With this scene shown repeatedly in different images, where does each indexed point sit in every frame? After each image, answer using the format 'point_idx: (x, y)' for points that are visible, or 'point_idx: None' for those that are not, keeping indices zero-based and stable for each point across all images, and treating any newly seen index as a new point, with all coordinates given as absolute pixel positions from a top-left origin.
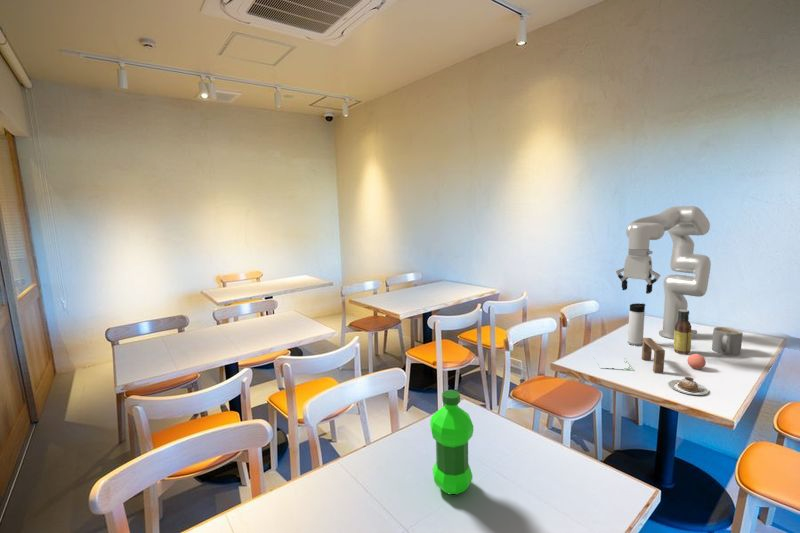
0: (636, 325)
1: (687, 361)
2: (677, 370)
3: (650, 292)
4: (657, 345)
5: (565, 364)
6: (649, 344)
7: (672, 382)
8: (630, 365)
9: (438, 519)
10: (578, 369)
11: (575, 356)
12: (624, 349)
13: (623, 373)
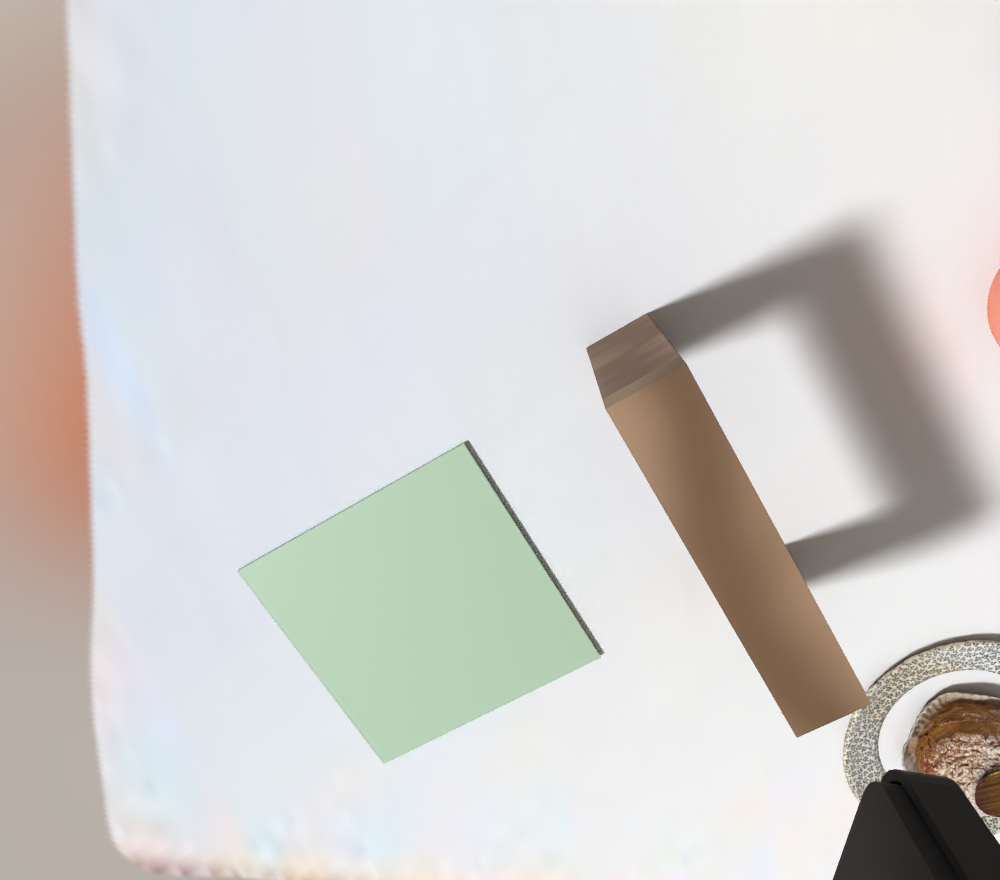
0: None
1: (991, 319)
2: (887, 443)
3: (933, 802)
4: (790, 595)
5: (163, 828)
6: (707, 582)
7: (867, 720)
8: (549, 580)
9: None
10: (275, 854)
11: (131, 643)
12: (381, 173)
13: (546, 745)
